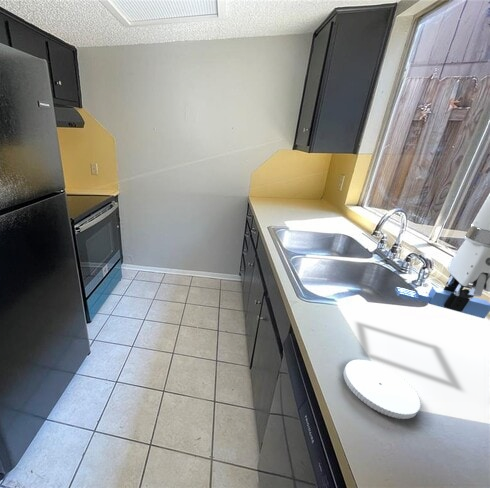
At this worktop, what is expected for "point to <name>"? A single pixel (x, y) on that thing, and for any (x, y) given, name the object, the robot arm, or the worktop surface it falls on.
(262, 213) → the worktop surface
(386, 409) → the plastic lid
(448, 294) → the blue brush
